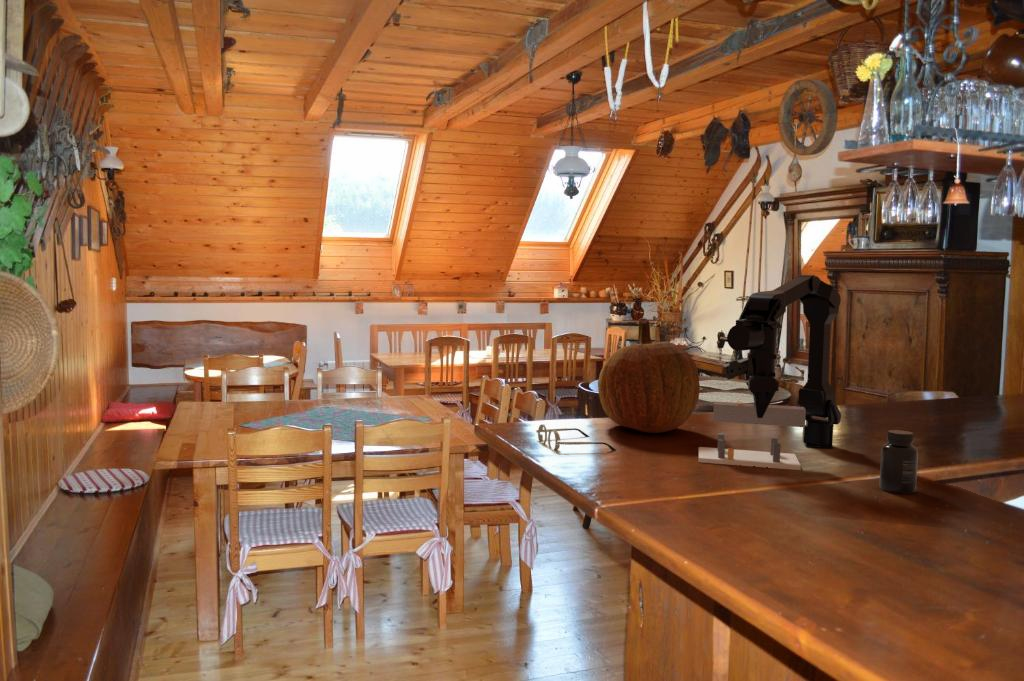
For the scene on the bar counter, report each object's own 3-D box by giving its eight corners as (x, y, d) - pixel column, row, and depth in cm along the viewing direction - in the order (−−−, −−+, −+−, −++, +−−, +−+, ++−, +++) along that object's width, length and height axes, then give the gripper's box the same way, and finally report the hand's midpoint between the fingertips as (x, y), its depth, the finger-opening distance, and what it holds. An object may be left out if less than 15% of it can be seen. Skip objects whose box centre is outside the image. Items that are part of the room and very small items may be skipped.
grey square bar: (802, 424, 191) (803, 405, 190) (804, 427, 187) (805, 408, 186) (713, 418, 195) (714, 400, 195) (713, 421, 191) (714, 402, 191)
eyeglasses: (533, 440, 209) (534, 420, 209) (589, 437, 214) (589, 418, 214) (558, 455, 193) (559, 434, 193) (618, 452, 198) (618, 431, 198)
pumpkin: (575, 423, 231) (579, 315, 228) (658, 418, 242) (662, 315, 239) (626, 443, 206) (631, 323, 203) (716, 437, 217) (722, 322, 214)
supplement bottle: (913, 487, 172) (917, 430, 170) (917, 496, 165) (922, 436, 164) (877, 484, 174) (881, 427, 173) (880, 492, 167) (884, 433, 166)
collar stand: (794, 458, 196) (795, 437, 195) (800, 470, 184) (801, 447, 183) (698, 450, 200) (699, 430, 200) (698, 462, 189) (699, 440, 188)
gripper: (725, 343, 200) (721, 407, 202) (727, 351, 182) (724, 421, 183) (773, 345, 198) (769, 410, 199) (780, 353, 180) (776, 424, 181)
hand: (759, 416), depth 191 cm, fingers closed on grey square bar, 4 cm apart
